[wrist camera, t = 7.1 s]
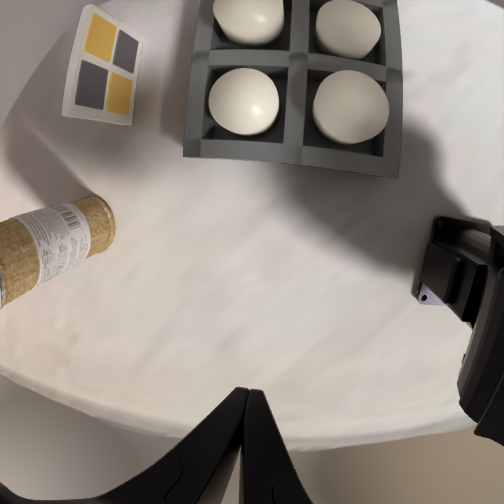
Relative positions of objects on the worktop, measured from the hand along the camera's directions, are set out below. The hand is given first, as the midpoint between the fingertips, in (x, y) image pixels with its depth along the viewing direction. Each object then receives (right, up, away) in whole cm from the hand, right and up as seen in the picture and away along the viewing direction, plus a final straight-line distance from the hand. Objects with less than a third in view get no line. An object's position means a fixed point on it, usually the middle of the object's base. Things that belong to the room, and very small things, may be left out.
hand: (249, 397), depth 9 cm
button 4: (0, +18, +5) cm, 18 cm away
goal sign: (-8, +17, +9) cm, 21 cm away
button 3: (0, +13, +7) cm, 15 cm away
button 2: (+6, +18, +5) cm, 19 cm away
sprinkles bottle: (-12, +7, +12) cm, 19 cm away
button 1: (+5, +12, +6) cm, 14 cm away
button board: (+3, +16, +8) cm, 18 cm away
